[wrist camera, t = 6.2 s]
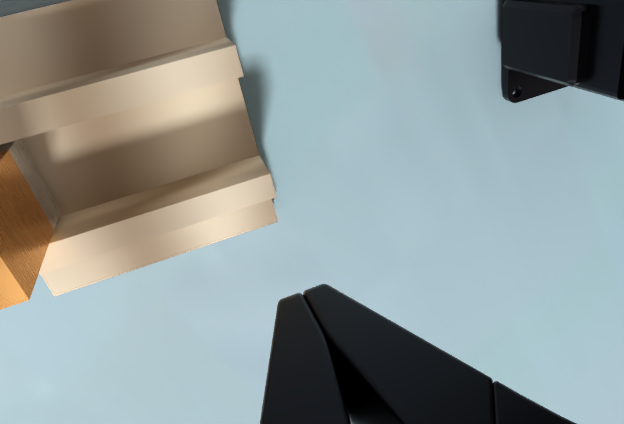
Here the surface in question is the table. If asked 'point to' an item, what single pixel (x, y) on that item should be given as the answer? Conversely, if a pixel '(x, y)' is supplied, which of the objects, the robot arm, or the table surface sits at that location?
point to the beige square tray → (131, 131)
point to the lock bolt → (22, 223)
